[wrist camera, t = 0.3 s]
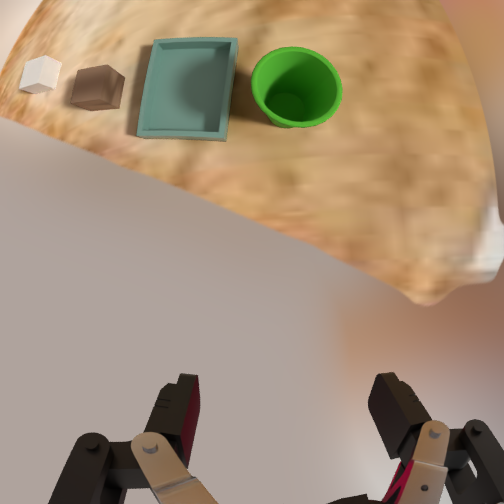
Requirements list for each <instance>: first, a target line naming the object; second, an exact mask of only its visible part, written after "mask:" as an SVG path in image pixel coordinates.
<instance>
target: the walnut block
mask: <svg viewBox="0 0 504 504" xmlns="http://www.w3.org/2000/svg"><path fill="white" fill-rule="evenodd" d="M124 81H125V77H124V76H122V75H121V74H120V73H118V72H117V71H116V70H114V69H113V68H111V67H110V66H109V65H102V66H96V67H91V68H86V69H81V70H78V71H77V75H76V80H75V84H74V88H73V93H72V98H71V104H74V105H77V106H79V107H82V108H85V109H87V110H90V111H98V110H108V109H119V108H120V102H121V96H122V91H123V86H124Z"/></svg>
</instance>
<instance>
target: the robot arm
mask: <svg viewBox="0 0 504 504" xmlns="http://www.w3.org/2000/svg"><path fill="white" fill-rule="evenodd" d="M199 392H200V391H199V381H198V375H192V374H183V373H181V374H180V376H179V378H178V381H177V384H171V383H168V384H167V385H165V386H164V387H163V388H162V389H161V390H160V393H159V395H158V397H157V400H156V402H155V406H154V407H153V410H152V412H151V415H150V417H149V420H148V423H147V425H146V428H145V430H144V432H143V433H141V434H139V435H137V436H136V437H135V438H134V439H133V440H132V441H128V442H109V441H108V439H107V438H106V437H105V436H103V435H101V434H99V433H86V434H84V435H82V436H80V437H79V438H78V439H77V441H76V443H75V445H74V447H73V450H72V451H71V454H70V456H69V458H68V460H67V462H66V464H65V466H64V468H63V471H62V473H61V475H60V477H59V480H58V482H57V484H56V486H55V489H54V491H53V493H52V496H51V498H50V500H49V503H48V504H124V500H125V496H126V492H127V489H131V488H132V489H134V488H135V489H136V488H150V489H151V491H152V493H153V494H154V496H155V498H156V499H157V501H158V503H159V504H218V503H217V501H215V499H214V498H213V497H212V496H211V494H210V493H209V492H208V491H207V489H206V488H205V487H204V486H203V484H202V483H201V482H200V481H199V480H198V479H197V478H196V477H193V476H191V474H190V473H189V472H188V470H187V469H188V465H189V460H190V456H191V450H192V446H193V441H194V436H195V431H196V426H197V422H198V417H199V413H200V393H199ZM368 408H369V411H370V413H371V416H372V418H373V420H374V422H375V425H376V426H377V429H378V431H379V434H380V436H381V438H382V441H383V443H384V445H385V447H386V450H387V452H388V454H389V457H390V459H395V458H399V457H400V459H401V462H400V463H399V465H398V468H397V470H396V472H395V475H394V477H393V479H392V482H391V484H390V486H389V488H388V491H387V493H386V494H385V496H384V498H383V499H382V501H376V500H368V497H367V494H363V495H358V496H353V497H347V498H341V499H339V500H336V501H333V502H330V503H328V504H439V501H440V497H441V494H442V491H443V487H444V484H445V486H446V488H447V490H448V493H449V496H450V498H451V500H452V503H453V504H504V450H503V449H502V447H501V446H500V444H499V443H498V441H497V439H496V438H495V436H494V435H493V434H492V432H491V431H490V429H489V428H488V426H487V425H486V424H485V423H484V422H483V421H480V420H476V419H474V420H470V421H468V422H467V423H466V425H465V426H464V428H463V429H449V428H448V427H447V425H445V424H444V423H442V422H440V421H436V420H432V419H431V417H430V416H429V414H428V412H427V411H426V409H425V408H424V406H423V405H422V403H421V402H420V401H419V399H418V397H417V396H416V395H415V393H414V391H413V390H412V388H411V387H410V386H409V385H408V384H406V383H405V382H403V381H399V379H398V378H397V376H396V375H395V373H393V372H389V373H381V374H378V375H377V376H376V378H375V381H374V384H373V387H372V390H371V393H370V396H369V399H368ZM470 459H471V461H472V462H473V464H474V466H475V468H476V470H477V478H476V477H475V475H474V474H473V471H472V470H471V468H470V466H469V464H468V462H469V460H470ZM186 468H187V469H186Z"/></svg>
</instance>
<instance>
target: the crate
mask: <svg viewBox="0 0 504 504" xmlns="http://www.w3.org/2000/svg"><path fill="white" fill-rule="evenodd" d="M237 54H238V39H237V38H224V37H191V38H170V39H157V40H154V43H153V47H152V51H151V56H150V60H149V65H148V69H147V74H146V79H145V84H144V90H143V95H142V101H141V107H140V114H139V121H138V128H137V135H136V136H138V137H141V138H144V139H186V140H208V141H223V142H226V139H227V130H228V122H229V113H230V105H231V98H232V90H233V82H234V75H235V68H236V61H237Z"/></svg>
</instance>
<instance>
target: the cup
mask: <svg viewBox="0 0 504 504" xmlns="http://www.w3.org/2000/svg"><path fill="white" fill-rule="evenodd" d="M251 90H252V94H253V97H254V99H255V102H256V103H257V104H258V106H259V107H260V109H261V110H262V111H263V112H264V113H265V114H266V115H267V116H268V118H269V119H270V121H271V122H272V123H273V124H275V125H277V126H278V127H281V128H293V127H301V128H305V127H311V126H316V125H318V124H321V123H323V122H325V121H326V120H327V119H329V118H330V117H332V116H333V114H334V113H335V112H336V110H337V109H338V107H339V105H340V102H341V100H342V84H341V80H340V77H339V75H338V73H337V71H336V69H335V68H334V67H333V65H332V64H331V63H330V62H329V61H328V60H327V59H326V58H324V57H323V56H322V55H320V54H318V53H316V52H315V51H312V50H309V49H306V48H302V47H284V48H279V49H277V50H274V51H271V52H270V53H268V54H267V55H265V56H264V57H262V59H261V60H260V61H259V62H258V63H257V64H256V66H255V68H254V70H253V72H252V77H251Z"/></svg>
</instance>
